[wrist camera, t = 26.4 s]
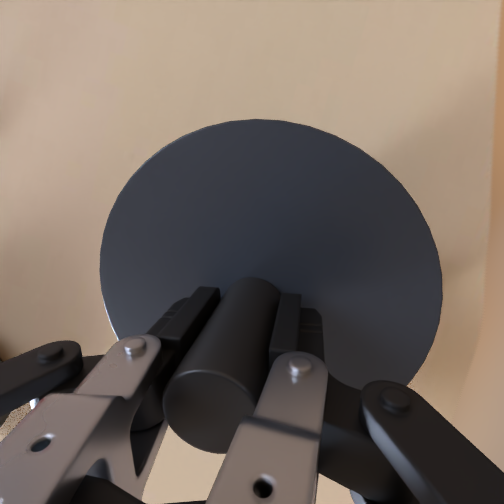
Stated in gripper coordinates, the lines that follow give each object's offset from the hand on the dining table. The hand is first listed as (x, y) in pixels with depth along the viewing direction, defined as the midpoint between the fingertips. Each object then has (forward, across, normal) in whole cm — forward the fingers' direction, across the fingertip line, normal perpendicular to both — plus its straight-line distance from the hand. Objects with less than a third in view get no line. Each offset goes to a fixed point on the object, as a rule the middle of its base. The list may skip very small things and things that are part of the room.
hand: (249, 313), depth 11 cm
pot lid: (+1, 0, 0) cm, 1 cm away
